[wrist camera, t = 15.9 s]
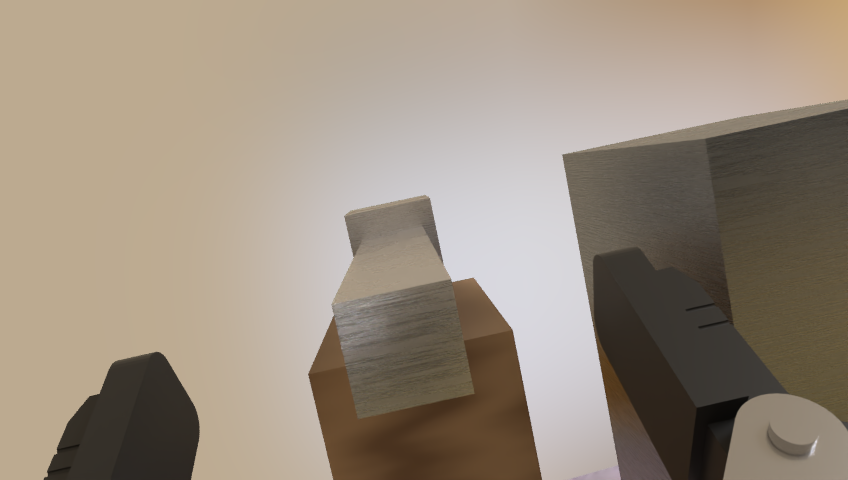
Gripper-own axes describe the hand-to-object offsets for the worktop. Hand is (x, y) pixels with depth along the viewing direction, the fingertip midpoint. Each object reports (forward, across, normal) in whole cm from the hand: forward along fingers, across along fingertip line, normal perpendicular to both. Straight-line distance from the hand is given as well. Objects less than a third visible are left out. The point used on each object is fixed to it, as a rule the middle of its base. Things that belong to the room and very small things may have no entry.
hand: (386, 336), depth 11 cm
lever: (+14, 0, +12) cm, 18 cm away
